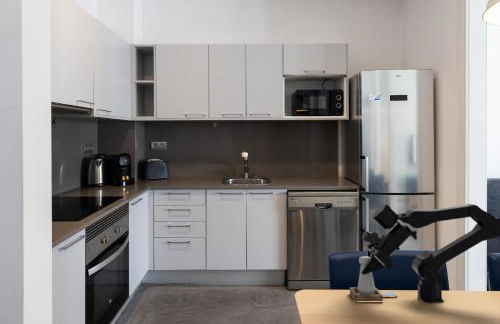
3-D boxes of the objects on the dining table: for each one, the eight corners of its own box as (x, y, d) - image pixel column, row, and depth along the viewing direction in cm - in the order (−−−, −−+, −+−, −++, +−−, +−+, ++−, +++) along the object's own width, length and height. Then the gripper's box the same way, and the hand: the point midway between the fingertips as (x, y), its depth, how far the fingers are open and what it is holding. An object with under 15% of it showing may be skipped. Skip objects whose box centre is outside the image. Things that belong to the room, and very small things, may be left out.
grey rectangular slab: (391, 293, 148) (391, 291, 148) (397, 297, 143) (397, 295, 143) (372, 293, 148) (372, 291, 148) (376, 297, 143) (376, 296, 143)
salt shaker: (376, 298, 139) (374, 258, 140) (358, 297, 140) (356, 258, 141) (374, 293, 145) (373, 255, 145) (357, 293, 146) (356, 255, 147)
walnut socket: (376, 294, 147) (375, 287, 147) (382, 302, 138) (382, 295, 138) (349, 294, 148) (349, 287, 148) (354, 302, 139) (354, 295, 139)
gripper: (371, 219, 152) (340, 249, 153) (381, 226, 134) (347, 261, 134) (394, 240, 151) (363, 271, 152) (408, 251, 133) (373, 286, 134)
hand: (361, 272), depth 143 cm, fingers open, 4 cm apart
